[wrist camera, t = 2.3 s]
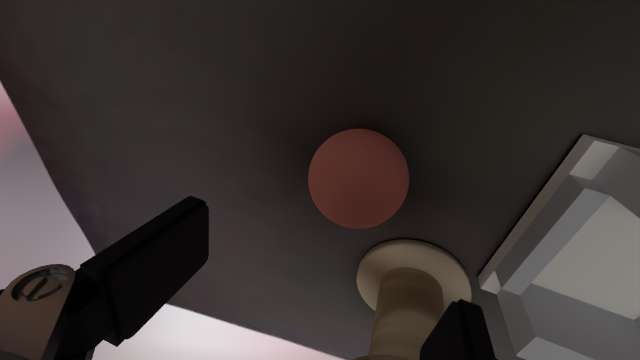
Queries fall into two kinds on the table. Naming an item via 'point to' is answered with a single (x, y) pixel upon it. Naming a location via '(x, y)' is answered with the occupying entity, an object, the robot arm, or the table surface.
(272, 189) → the table surface
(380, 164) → the bead
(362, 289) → the bobbin
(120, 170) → the table surface
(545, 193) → the grey u-shaped holder
